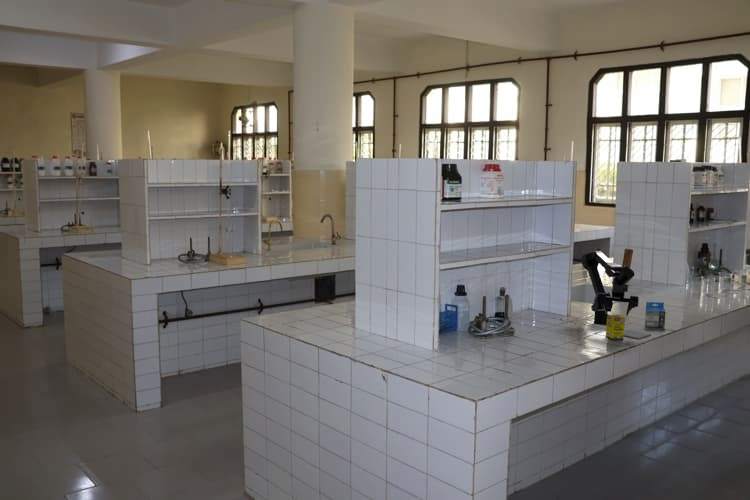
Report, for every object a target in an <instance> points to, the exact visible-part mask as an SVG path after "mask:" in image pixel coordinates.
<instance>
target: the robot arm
mask: <svg viewBox="0 0 750 500" xmlns="http://www.w3.org/2000/svg"><path fill="white" fill-rule="evenodd" d="M580 262H581V265H582V267H583V268H584V270H586V271H587V273H588V274H589V275H588V276H589V278H590V281H591V285H592V288H593V290H594V293H595V296H594V300H593V303H592V305H591V307H590V309H591V311H592V312H594V314H593V316H594V319H593V324H597V325H607V315H610V314H608V313H611V312H612V309H613V306H614V303H613V302H616V303H627V304H628V305H627V308H626V316H627V317H628V316H629V313H630V312H631V311H632V309H635V308H637V307H638V306H639V299H640V298H639V296H638V295H629V298H627V297H625V293H628V292H629V285H628V284H627V283H629V282H630V281H632V279H633V278H634V277H635V272H634V270H632V268H629V266H628V265H624V266H622V265H620V264H618V263H615V262H613V261H612V260H611V259H610V258H608V256H606V255H605V254H604V252H603V250H602V251H601V250H593V251H591V252H590V253H586V254H582V256H581V258H580ZM599 265H601V266H602V268H603V269H604V270H605V272H604V273H605V274H606V275H607V277H608V278H613V280H612V281H611V284H612V289H611V293H610V292H606V290H605V286H604V284H603V282H602V279H601V275H600V272H599V269H598V267H599Z"/></svg>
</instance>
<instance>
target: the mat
mask: <svg viewBox="0 0 750 500" xmlns="http://www.w3.org/2000/svg"><path fill="white" fill-rule="evenodd" d="M650 336H652V335H651V333H648V332H647V333H646V332H642V331H638V330H633V329H629V328H627V329H624V337H627V338H631V339H635V340H641V339H643V338H648V337H650Z"/></svg>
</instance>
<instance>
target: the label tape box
mask: <svg viewBox="0 0 750 500" xmlns="http://www.w3.org/2000/svg"><path fill="white" fill-rule="evenodd" d="M664 306H665V302H657V301H654V302H653V301H646V303H645V318H644V326H645V327H646V328H665V326H666V309H665V307H664Z"/></svg>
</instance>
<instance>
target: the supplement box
mask: <svg viewBox="0 0 750 500" xmlns="http://www.w3.org/2000/svg"><path fill="white" fill-rule="evenodd" d="M625 321H626V317H625V316H623V315H620V314H609V315H607V324H605V325H606V326H605V327H606V328H605V338H607V339H609V340H612V341H619V340H620V341H623V340H624V337H625V336H624V330H625V323H626V322H625Z"/></svg>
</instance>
